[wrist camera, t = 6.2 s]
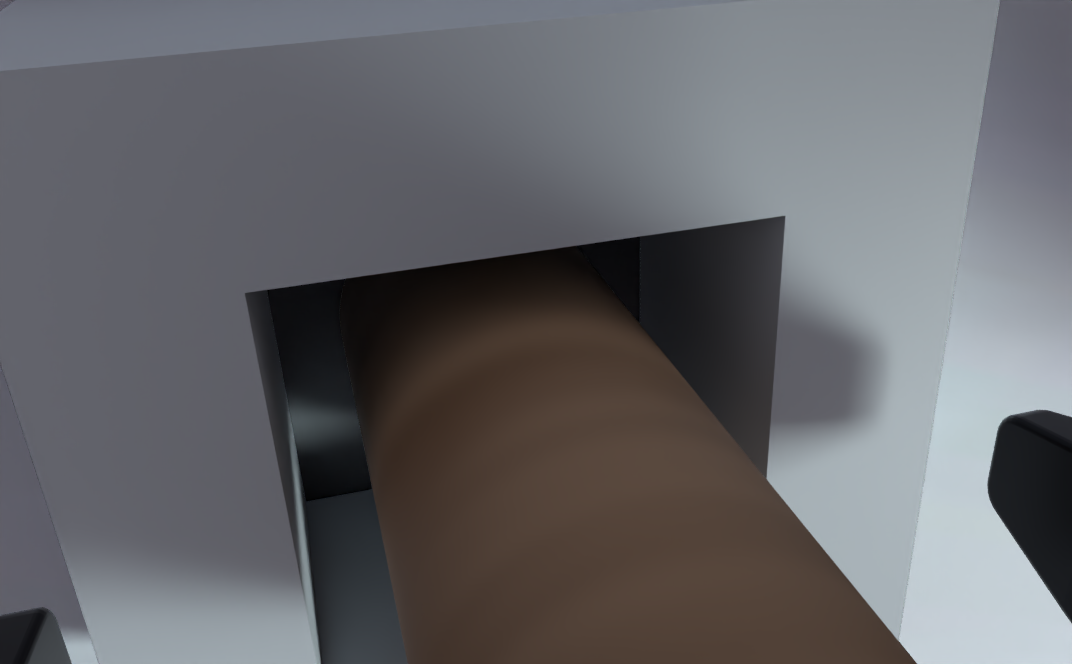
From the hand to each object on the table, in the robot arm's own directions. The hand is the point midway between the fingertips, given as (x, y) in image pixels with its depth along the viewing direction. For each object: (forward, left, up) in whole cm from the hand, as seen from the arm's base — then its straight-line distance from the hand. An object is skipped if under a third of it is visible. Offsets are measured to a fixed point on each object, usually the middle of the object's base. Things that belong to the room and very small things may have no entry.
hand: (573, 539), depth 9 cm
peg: (0, 0, -5) cm, 5 cm away
